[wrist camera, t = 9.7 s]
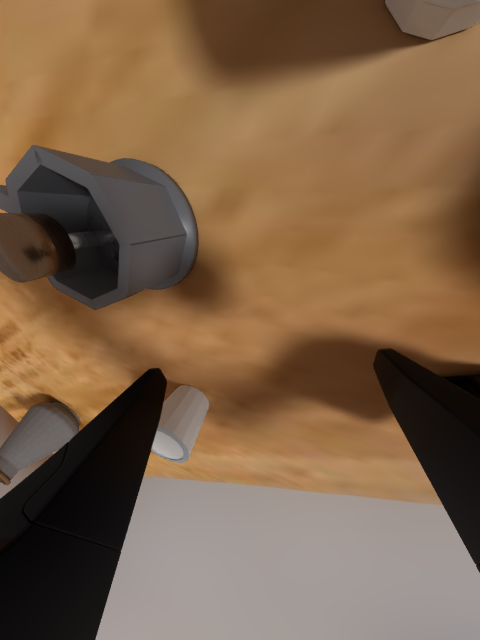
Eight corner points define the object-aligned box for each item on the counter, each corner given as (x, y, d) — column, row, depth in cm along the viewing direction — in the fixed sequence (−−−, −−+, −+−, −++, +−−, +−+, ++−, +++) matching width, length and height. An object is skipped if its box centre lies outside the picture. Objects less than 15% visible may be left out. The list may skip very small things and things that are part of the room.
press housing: (213, 194, 16) (152, 183, 10) (183, 303, 22) (134, 340, 16) (80, 129, 17) (-53, 82, 11) (86, 252, 23) (1, 267, 17)
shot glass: (193, 376, 27) (161, 421, 22) (222, 411, 29) (200, 462, 23) (163, 388, 31) (128, 430, 25) (190, 419, 32) (164, 465, 27)
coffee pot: (61, 393, 42) (-45, 470, 30) (95, 430, 46) (14, 513, 33) (20, 400, 52) (-74, 461, 39) (51, 430, 55) (-25, 495, 43)
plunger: (167, 210, 15) (48, 209, 8) (154, 286, 19) (64, 329, 12) (91, 172, 16) (-81, 142, 9) (93, 254, 20) (-27, 278, 13)
